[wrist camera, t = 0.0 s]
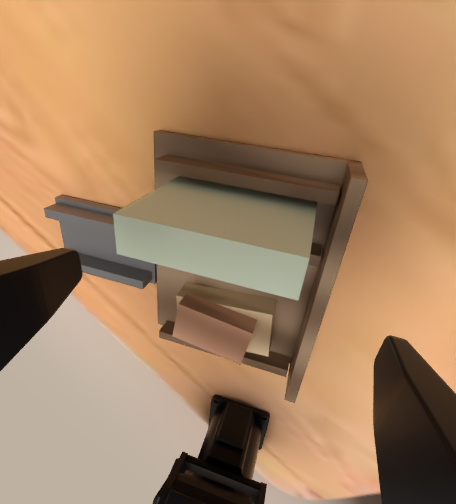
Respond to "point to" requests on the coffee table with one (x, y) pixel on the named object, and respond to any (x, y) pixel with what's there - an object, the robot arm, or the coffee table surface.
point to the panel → (221, 234)
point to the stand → (98, 241)
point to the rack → (282, 183)
